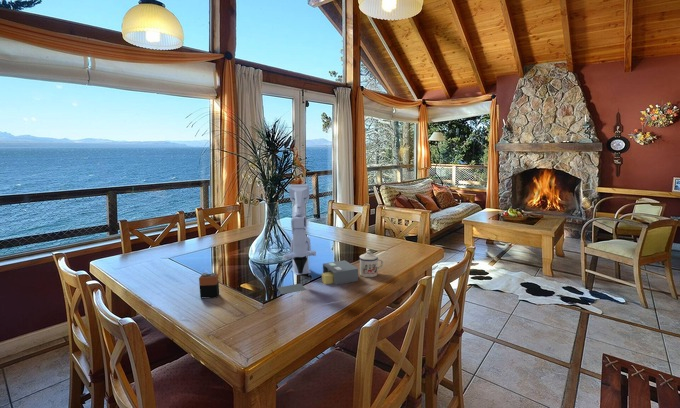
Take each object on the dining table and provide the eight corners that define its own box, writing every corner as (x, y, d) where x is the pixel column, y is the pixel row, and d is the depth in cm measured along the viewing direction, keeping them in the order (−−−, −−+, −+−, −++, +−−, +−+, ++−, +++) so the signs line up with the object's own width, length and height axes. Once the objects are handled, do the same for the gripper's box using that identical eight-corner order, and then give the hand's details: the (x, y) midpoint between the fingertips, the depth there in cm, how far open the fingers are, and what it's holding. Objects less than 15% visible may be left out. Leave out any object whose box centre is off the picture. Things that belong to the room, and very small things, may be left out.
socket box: (322, 275, 168) (322, 263, 167) (345, 271, 173) (345, 259, 172) (334, 285, 155) (334, 272, 155) (358, 280, 160) (358, 268, 159)
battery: (203, 294, 147) (201, 272, 145) (219, 293, 147) (218, 271, 146) (200, 298, 142) (198, 275, 141) (217, 298, 143) (215, 274, 142)
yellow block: (321, 282, 159) (321, 273, 158) (337, 279, 163) (337, 270, 162) (325, 285, 156) (325, 276, 155) (341, 282, 159) (341, 273, 158)
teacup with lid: (362, 278, 163) (362, 254, 162) (357, 272, 172) (357, 249, 170) (386, 276, 166) (386, 252, 164) (379, 270, 175) (380, 247, 173)
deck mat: (276, 288, 152) (276, 287, 152) (300, 284, 157) (300, 283, 157) (281, 295, 145) (281, 294, 145) (306, 290, 150) (306, 289, 150)
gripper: (286, 247, 144) (287, 278, 147) (318, 243, 151) (318, 273, 153) (281, 243, 151) (282, 273, 153) (312, 239, 157) (313, 268, 159)
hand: (300, 272), depth 153 cm, fingers closed
